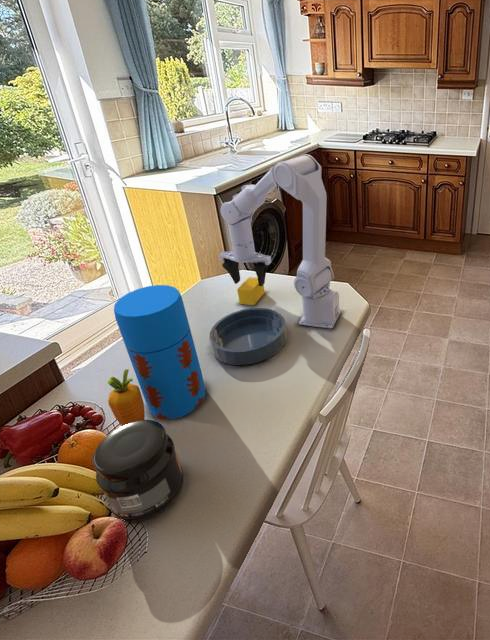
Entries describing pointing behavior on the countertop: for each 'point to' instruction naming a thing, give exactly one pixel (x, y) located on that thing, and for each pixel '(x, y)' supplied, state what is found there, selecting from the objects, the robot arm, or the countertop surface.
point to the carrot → (126, 400)
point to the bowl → (248, 336)
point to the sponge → (250, 291)
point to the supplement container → (138, 470)
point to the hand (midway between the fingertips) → (249, 283)
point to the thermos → (161, 350)
